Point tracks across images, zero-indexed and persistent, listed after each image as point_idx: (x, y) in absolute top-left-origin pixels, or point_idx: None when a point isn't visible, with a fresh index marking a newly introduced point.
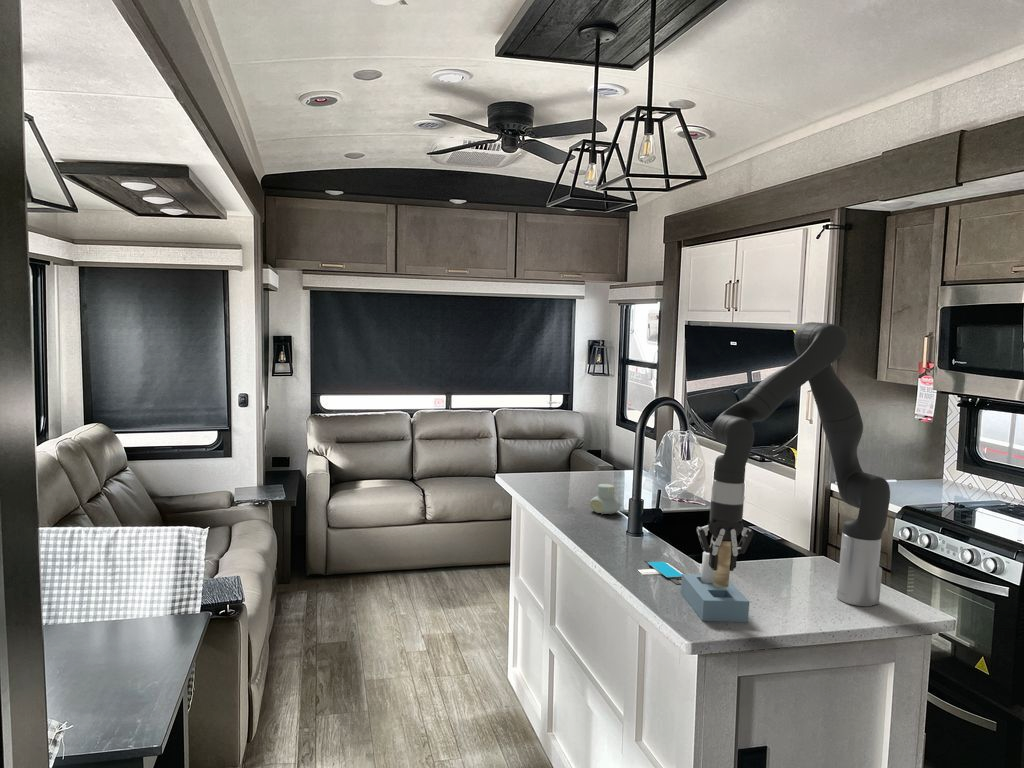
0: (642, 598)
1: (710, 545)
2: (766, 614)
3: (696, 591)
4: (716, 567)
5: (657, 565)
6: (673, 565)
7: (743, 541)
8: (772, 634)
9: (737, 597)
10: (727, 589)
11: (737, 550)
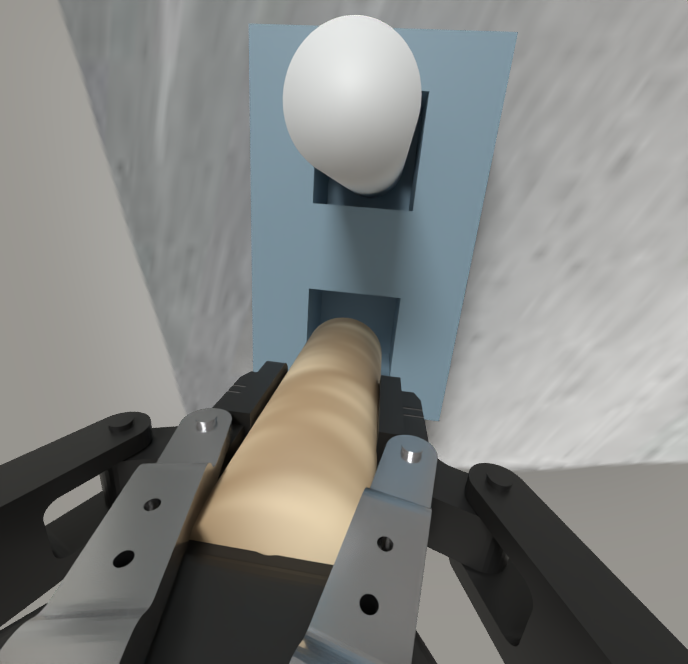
0: (114, 148)
1: (164, 458)
2: (542, 326)
3: (253, 304)
4: None
5: None
6: None
7: (528, 661)
8: (456, 463)
9: (408, 380)
10: (410, 288)
11: (428, 539)
